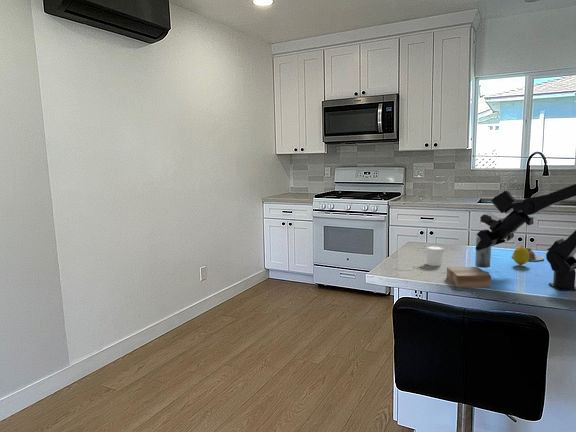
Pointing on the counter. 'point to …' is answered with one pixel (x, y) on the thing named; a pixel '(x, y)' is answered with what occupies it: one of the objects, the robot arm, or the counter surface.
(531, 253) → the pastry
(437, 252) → the shot glass
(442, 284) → the counter surface
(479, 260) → the tea tin
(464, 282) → the walnut block
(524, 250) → the lemon
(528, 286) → the counter surface
